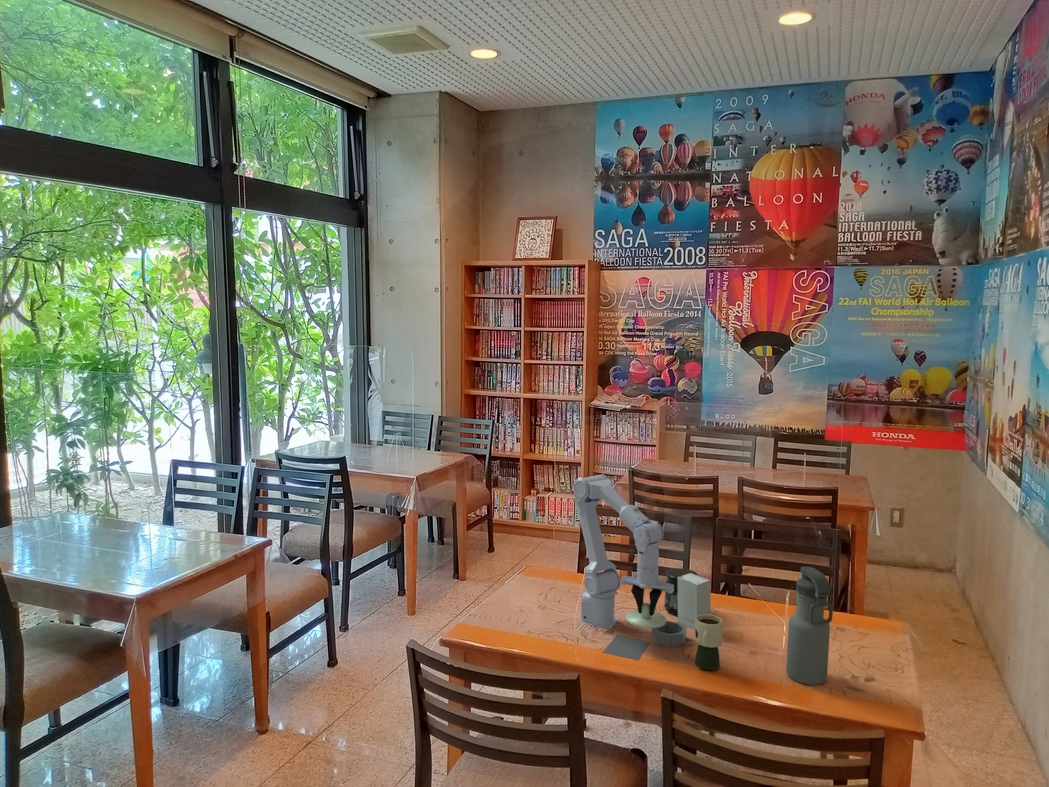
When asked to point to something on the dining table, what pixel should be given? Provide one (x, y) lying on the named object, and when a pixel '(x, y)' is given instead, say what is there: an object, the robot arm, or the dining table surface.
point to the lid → (645, 618)
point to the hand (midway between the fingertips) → (646, 613)
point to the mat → (626, 647)
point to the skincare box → (692, 599)
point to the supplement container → (672, 599)
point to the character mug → (708, 640)
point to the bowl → (669, 634)
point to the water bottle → (809, 630)
